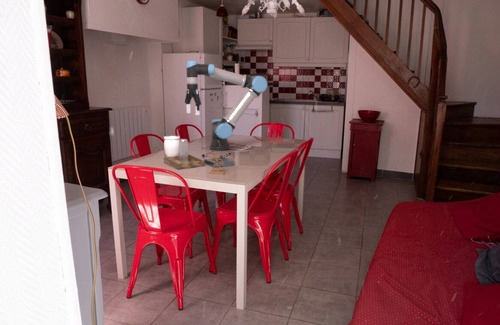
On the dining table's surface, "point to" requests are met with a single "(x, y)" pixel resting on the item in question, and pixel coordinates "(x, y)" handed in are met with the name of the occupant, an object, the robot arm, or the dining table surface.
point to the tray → (192, 163)
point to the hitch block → (226, 162)
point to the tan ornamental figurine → (217, 167)
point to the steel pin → (183, 150)
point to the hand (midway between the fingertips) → (193, 114)
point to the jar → (171, 145)
